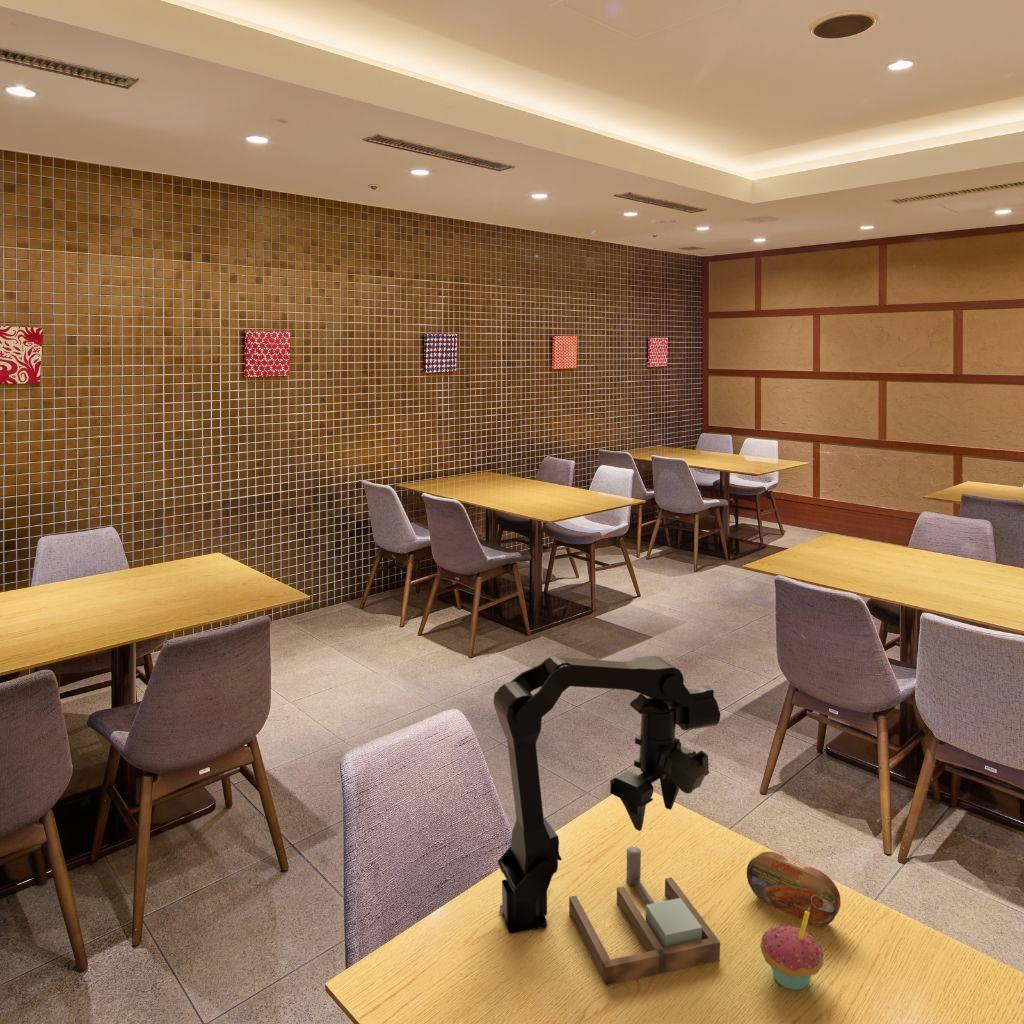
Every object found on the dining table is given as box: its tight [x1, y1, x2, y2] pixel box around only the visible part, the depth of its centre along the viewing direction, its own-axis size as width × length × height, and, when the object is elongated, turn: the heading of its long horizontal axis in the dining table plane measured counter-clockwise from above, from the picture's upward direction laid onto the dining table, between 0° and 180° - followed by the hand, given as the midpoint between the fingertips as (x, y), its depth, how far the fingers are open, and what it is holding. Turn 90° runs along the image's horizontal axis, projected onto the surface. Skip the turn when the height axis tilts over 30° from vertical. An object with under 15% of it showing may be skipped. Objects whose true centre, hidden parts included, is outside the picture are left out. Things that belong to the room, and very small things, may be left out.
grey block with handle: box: [625, 846, 702, 948], centre depth 126 cm, size 6×20×6 cm, turn 15°
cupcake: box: [760, 908, 824, 991], centre depth 111 cm, size 9×8×12 cm
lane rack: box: [568, 876, 721, 986], centre depth 121 cm, size 18×16×3 cm
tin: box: [746, 851, 842, 927], centre depth 126 cm, size 15×3×8 cm, turn 47°
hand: (653, 818), depth 131 cm, fingers open, 9 cm apart
